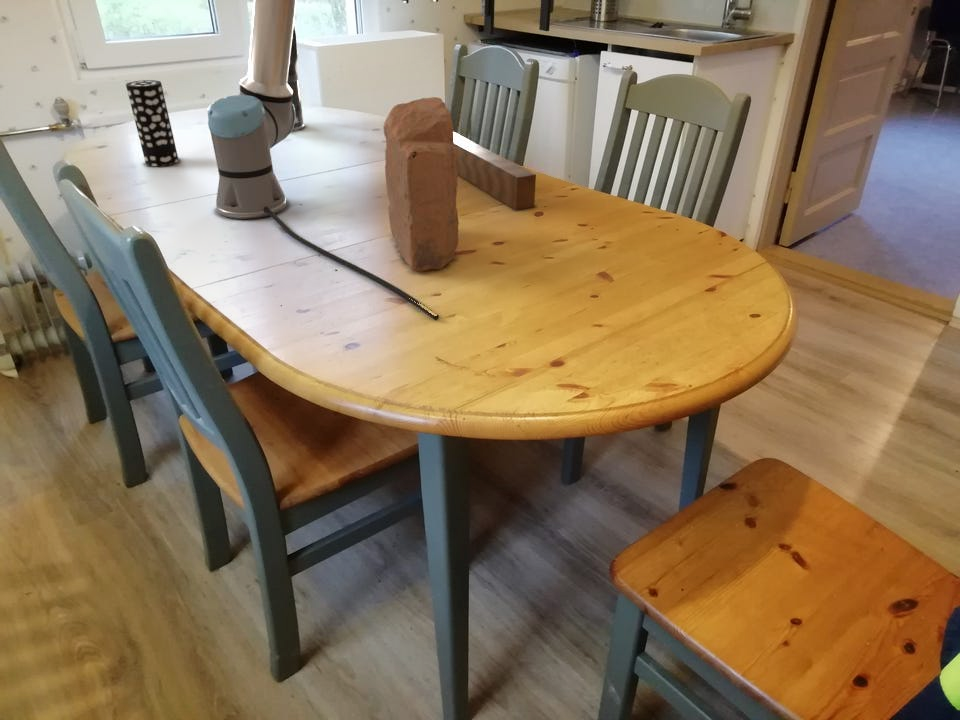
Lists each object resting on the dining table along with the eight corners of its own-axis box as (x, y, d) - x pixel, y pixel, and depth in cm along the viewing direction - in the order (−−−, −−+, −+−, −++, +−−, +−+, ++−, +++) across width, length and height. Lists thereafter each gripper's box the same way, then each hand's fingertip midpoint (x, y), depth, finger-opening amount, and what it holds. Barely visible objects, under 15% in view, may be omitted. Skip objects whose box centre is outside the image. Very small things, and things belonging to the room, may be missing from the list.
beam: (534, 206, 161) (536, 174, 157) (515, 210, 159) (517, 177, 154) (422, 141, 207) (421, 115, 203) (407, 143, 205) (405, 117, 200)
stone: (470, 268, 131) (468, 114, 117) (412, 275, 128) (403, 119, 114) (440, 231, 149) (435, 93, 134) (388, 237, 146) (378, 97, 131)
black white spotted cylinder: (184, 157, 190) (167, 80, 179) (169, 166, 183) (151, 87, 172) (155, 156, 190) (136, 79, 179) (139, 165, 183) (119, 86, 172)
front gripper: (564, -88, 141) (556, 26, 152) (456, -91, 130) (455, 32, 142) (586, -88, 135) (576, 31, 147) (474, -91, 125) (473, 37, 136)
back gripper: (437, -71, 177) (439, -1, 186) (385, -71, 171) (389, 2, 180) (450, -71, 171) (451, 2, 180) (397, -71, 166) (401, 4, 174)
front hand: (517, 32), depth 144 cm, fingers open, 13 cm apart
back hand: (420, 2), depth 180 cm, fingers open, 8 cm apart
